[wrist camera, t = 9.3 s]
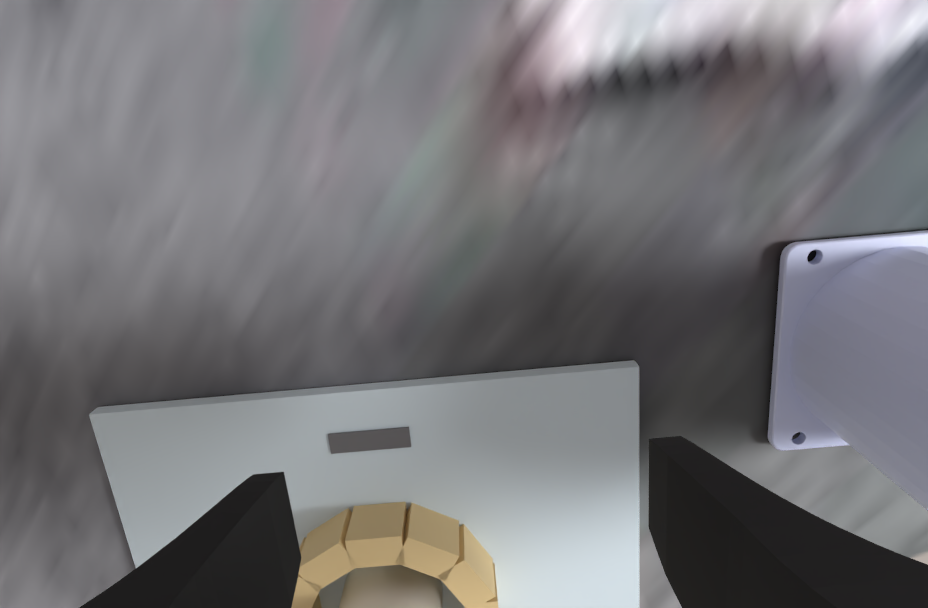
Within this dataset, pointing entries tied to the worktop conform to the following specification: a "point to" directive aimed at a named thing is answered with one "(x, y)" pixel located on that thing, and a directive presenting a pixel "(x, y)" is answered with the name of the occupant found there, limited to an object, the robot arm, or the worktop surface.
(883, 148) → the worktop surface
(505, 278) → the worktop surface
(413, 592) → the tube
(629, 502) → the plate
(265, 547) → the robot arm
